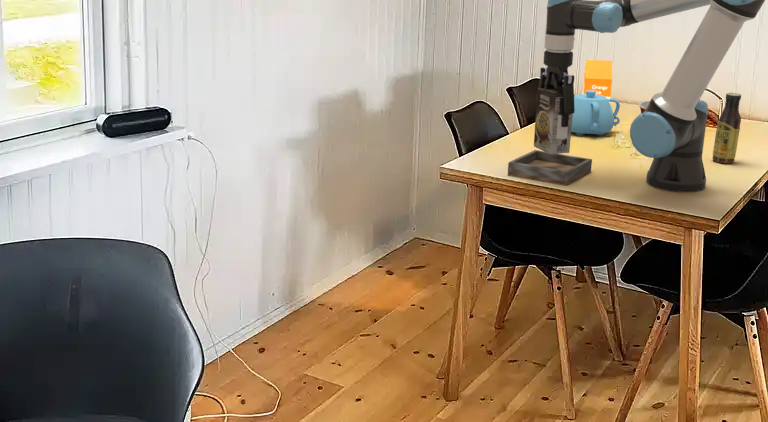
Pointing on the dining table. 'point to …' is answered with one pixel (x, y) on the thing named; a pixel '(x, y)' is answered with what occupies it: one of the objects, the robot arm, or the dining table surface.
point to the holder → (550, 167)
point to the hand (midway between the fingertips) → (552, 134)
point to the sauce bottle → (728, 130)
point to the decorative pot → (593, 114)
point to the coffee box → (550, 123)
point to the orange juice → (598, 77)
